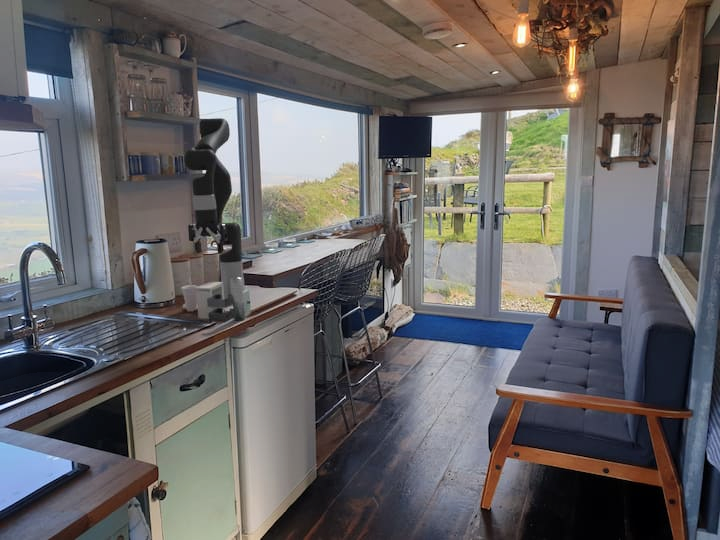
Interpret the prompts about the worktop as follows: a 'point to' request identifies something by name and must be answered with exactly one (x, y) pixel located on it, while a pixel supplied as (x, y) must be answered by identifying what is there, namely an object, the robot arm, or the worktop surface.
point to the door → (240, 299)
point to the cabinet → (213, 302)
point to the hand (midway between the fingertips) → (209, 253)
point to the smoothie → (190, 296)
